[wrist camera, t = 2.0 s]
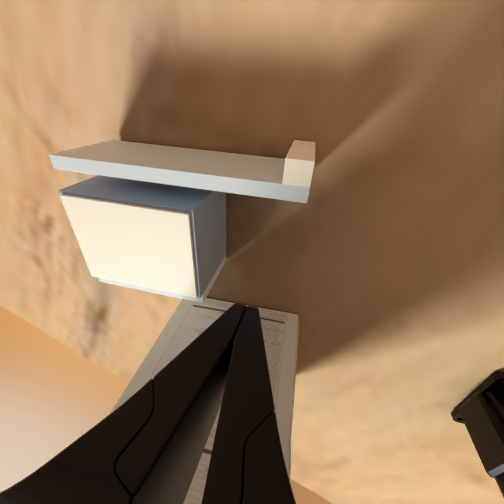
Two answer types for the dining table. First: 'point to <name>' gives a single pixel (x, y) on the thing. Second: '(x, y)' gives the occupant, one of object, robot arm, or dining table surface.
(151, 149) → the flap
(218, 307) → the supplement box
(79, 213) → the carton
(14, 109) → the dining table surface
